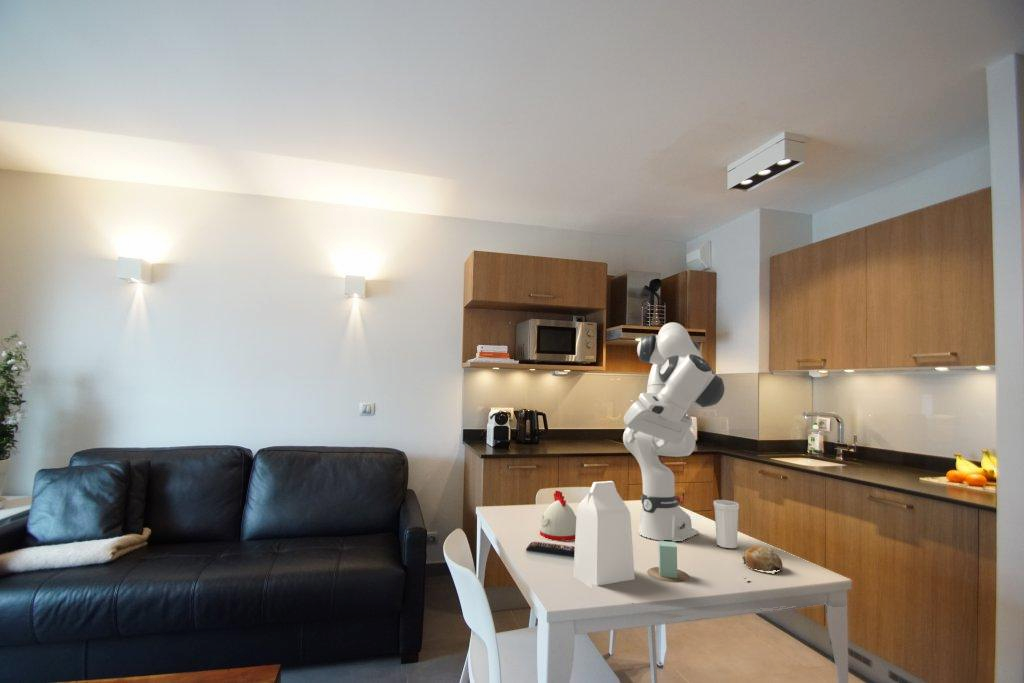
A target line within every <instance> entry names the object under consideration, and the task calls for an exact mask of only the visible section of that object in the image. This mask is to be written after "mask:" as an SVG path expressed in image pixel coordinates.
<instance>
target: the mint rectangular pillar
mask: <svg viewBox="0 0 1024 683" xmlns="http://www.w3.org/2000/svg"><path fill="white" fill-rule="evenodd" d="M658 567H659V573H660V577H670V578H677V569H678V546H677V542H676V541H664V540H658Z"/></svg>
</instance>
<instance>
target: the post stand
mask: <svg viewBox="0 0 1024 683" xmlns="http://www.w3.org/2000/svg"><path fill="white" fill-rule="evenodd" d="M646 573H647V575H648V576H649V577H651V578H652V579H654V580H658V581H661V582H666V583H675V584H676V583H685V582H686V581H688V580H690V575H689V574H688V573H687V572H685V571H682V570H681V569H678V568H677V578H670V577H660V573H659V566H655V567H649V569H648V570H646Z"/></svg>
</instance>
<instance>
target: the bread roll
mask: <svg viewBox="0 0 1024 683" xmlns="http://www.w3.org/2000/svg"><path fill="white" fill-rule="evenodd" d="M741 559H743V560H742V561H743V564H744V565H745V564H746V566H748V567H750V568H752V569H757V570H763V571H773V570H776V571H777V570H781V569H782V570H783V567H784V566H783V560H782V559H781V557H780V556H779V555H778V553H776V551H775V550H773V549H772V548H769V547H767V546H763V545H755V546H754V545H753V546H751V547H750V548H748V549H747V550H745V551H744V553H743V554H742V555H741ZM746 566H745V567H746ZM782 570H781V571H782Z"/></svg>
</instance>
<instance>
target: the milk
mask: <svg viewBox="0 0 1024 683" xmlns="http://www.w3.org/2000/svg"><path fill="white" fill-rule="evenodd" d="M616 487H617V486H616V484H615V482H614V481H612V480H606V481H594V482H592V484H591V486H590V490H589V492H588V493H587V494H586V495H585V497H584V498H583V499H582V500H581V501H580V502H579V504H578V505H577V507H576V515H575V516H576V535H575V540H574V558H573V577H574V578H576V579H577V580H579V582H582V584H584V585H586V586H587V587H589V588H590V589H592V586H593V585H594V586H596V587H597V586H604V585H609V584H610V585H611V584H613V583H614V584H615V583H620V582H627V581H632V580H636V578H635V566H634V565H635V564H634V550H633V549H634V548H633V534H632V533H633V532H632V517H631V512H630V509H629V508H628V506H627V504H626V503H625V502H624V500H623V499H622V497H621V495H620V494H619V493H618V491H617V488H616Z"/></svg>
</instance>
